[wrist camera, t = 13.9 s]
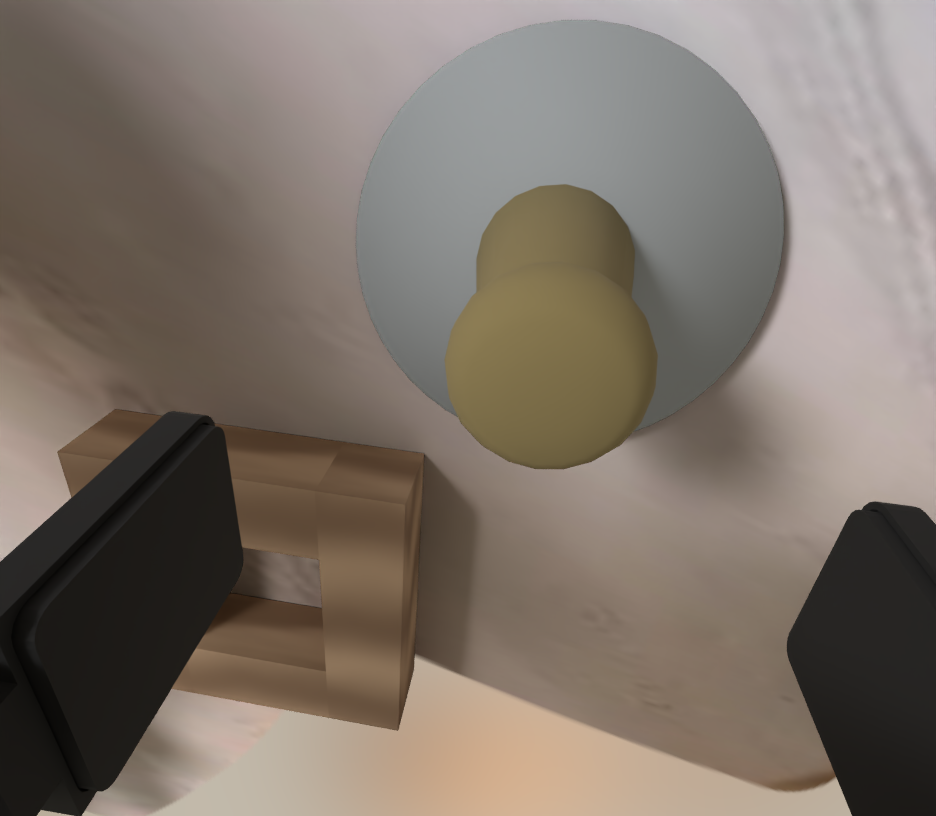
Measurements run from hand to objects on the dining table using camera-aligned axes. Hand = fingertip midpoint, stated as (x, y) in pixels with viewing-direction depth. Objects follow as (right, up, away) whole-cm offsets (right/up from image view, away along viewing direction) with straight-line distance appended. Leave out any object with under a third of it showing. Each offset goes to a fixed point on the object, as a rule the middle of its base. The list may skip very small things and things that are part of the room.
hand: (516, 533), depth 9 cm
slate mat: (+3, +8, +14) cm, 17 cm away
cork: (+3, +7, +14) cm, 16 cm away
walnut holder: (-11, -6, +24) cm, 28 cm away
